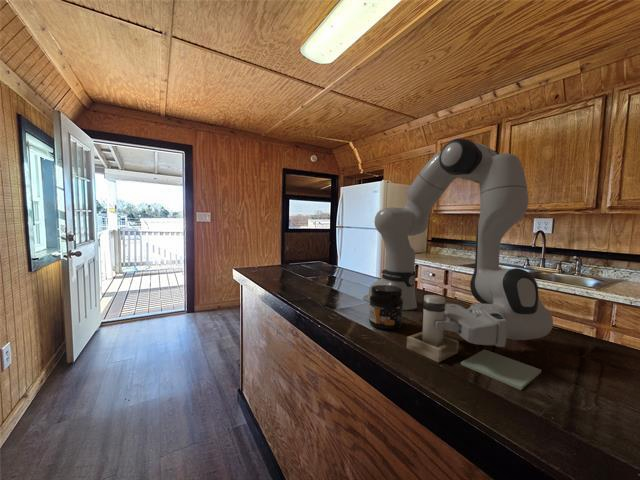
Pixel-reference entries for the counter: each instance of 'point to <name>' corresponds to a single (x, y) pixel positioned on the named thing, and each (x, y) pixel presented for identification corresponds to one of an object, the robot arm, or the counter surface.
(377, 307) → the supplement container
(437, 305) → the white capsule post
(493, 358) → the mat
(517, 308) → the robot arm
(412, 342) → the square wooden frame
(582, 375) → the counter surface
